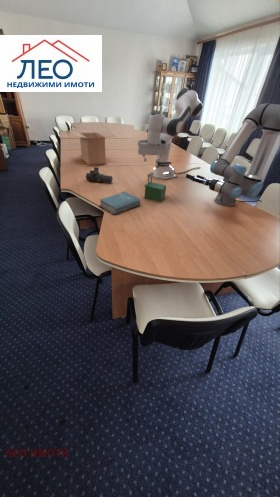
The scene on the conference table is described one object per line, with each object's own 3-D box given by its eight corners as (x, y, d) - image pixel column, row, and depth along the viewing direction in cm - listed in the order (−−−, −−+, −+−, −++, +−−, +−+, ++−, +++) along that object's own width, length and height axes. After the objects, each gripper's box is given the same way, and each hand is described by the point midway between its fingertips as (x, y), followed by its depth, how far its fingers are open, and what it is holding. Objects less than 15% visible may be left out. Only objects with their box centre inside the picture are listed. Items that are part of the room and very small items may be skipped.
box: (116, 165, 229) (116, 136, 213) (83, 168, 214) (80, 137, 198) (102, 154, 259) (101, 128, 243) (71, 156, 244) (68, 129, 228)
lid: (144, 186, 162) (145, 174, 157) (149, 182, 169) (150, 170, 164) (161, 190, 158) (163, 178, 152) (166, 186, 165) (167, 174, 159)
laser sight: (109, 185, 184) (109, 173, 178) (84, 181, 187) (83, 169, 181) (113, 181, 192) (113, 169, 186) (88, 177, 195) (87, 166, 189)
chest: (144, 198, 167) (145, 186, 162) (149, 194, 174) (150, 182, 169) (160, 202, 163) (161, 190, 158) (164, 197, 170) (166, 186, 165)
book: (125, 198, 165) (125, 191, 162) (140, 205, 156) (140, 199, 153) (100, 206, 151) (99, 199, 149) (115, 215, 143) (115, 207, 140)
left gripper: (138, 140, 143) (137, 162, 151) (169, 141, 146) (166, 163, 154) (137, 138, 148) (136, 159, 156) (167, 139, 151) (164, 160, 159)
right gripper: (205, 191, 138) (179, 180, 150) (223, 191, 155) (199, 182, 167) (209, 179, 135) (183, 169, 147) (228, 180, 151) (202, 171, 164)
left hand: (151, 161), depth 155 cm, fingers open, 8 cm apart
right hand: (191, 176), depth 157 cm, fingers open, 13 cm apart
